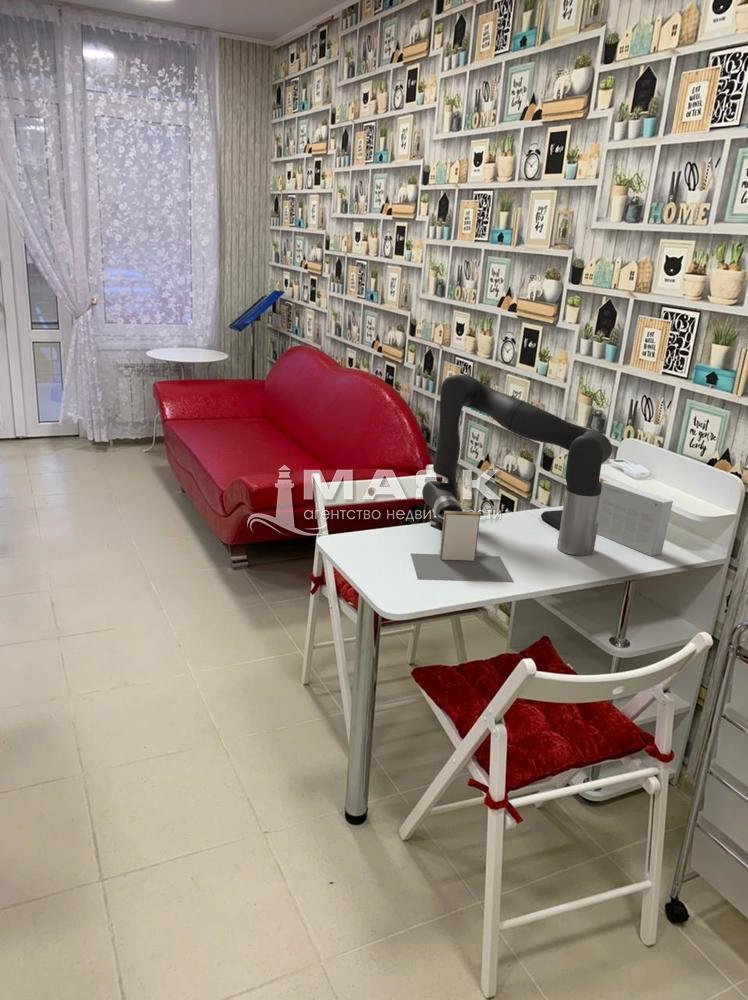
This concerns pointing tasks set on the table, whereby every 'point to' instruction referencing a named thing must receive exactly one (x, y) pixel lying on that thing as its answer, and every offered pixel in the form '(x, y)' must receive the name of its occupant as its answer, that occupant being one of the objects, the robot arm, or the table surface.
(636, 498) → the skincare box
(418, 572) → the charcoal mat
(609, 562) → the table surface
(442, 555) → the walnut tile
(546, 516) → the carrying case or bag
